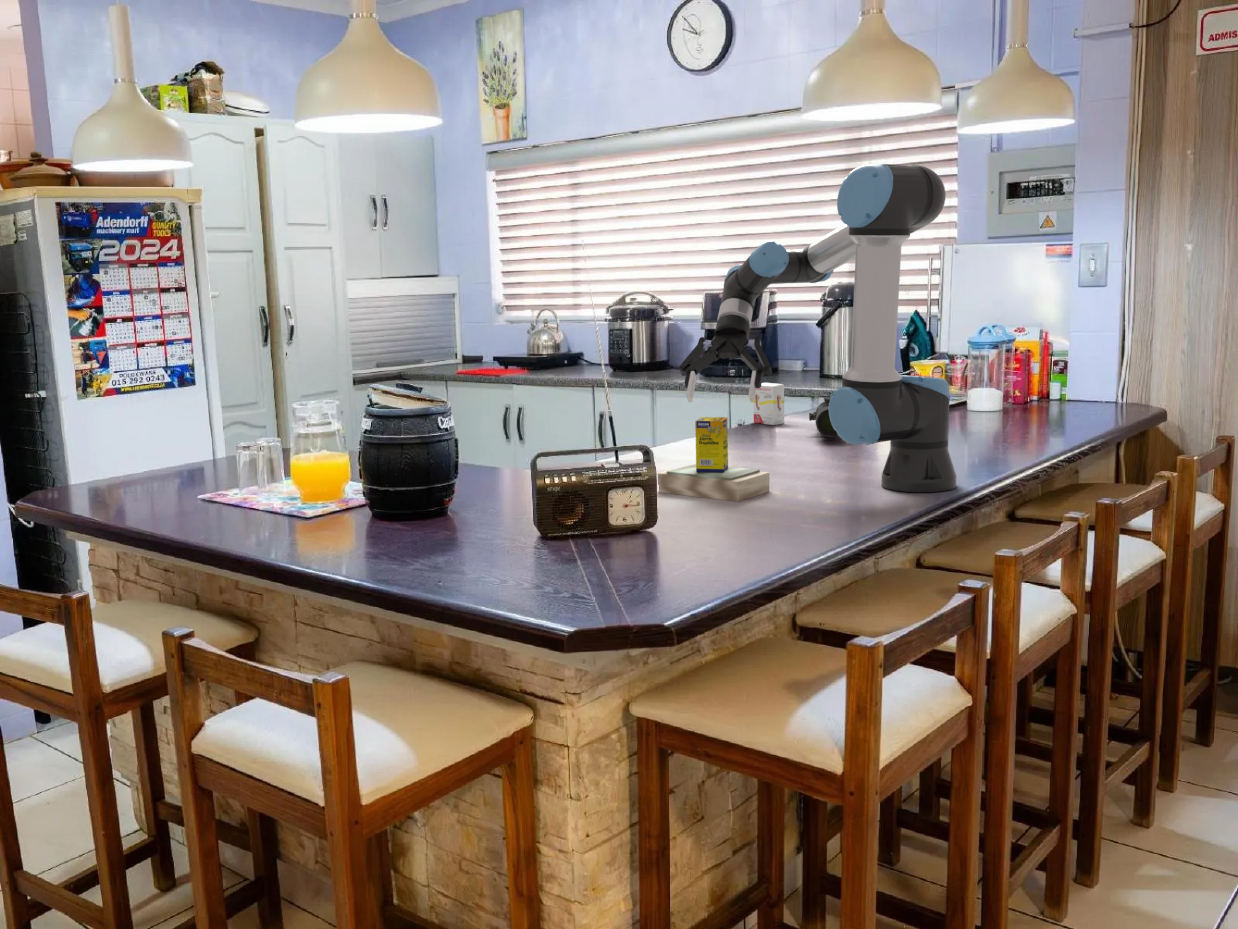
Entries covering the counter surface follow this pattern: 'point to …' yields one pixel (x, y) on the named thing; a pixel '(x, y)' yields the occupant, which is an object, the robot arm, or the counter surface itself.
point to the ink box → (769, 404)
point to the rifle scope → (823, 419)
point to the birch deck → (714, 483)
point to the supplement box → (711, 444)
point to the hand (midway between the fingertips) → (719, 398)
